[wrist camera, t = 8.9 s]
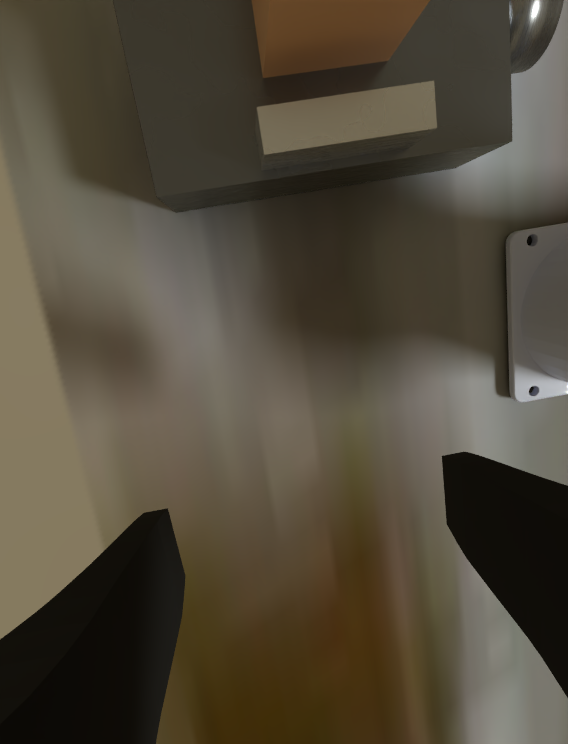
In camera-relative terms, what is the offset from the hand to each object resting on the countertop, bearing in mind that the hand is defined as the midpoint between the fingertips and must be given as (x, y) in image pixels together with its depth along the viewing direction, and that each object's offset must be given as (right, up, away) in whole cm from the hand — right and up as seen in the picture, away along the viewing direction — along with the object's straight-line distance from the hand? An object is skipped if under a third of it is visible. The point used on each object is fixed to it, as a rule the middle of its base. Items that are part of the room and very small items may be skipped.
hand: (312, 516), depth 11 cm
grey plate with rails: (+1, +16, +6) cm, 17 cm away
